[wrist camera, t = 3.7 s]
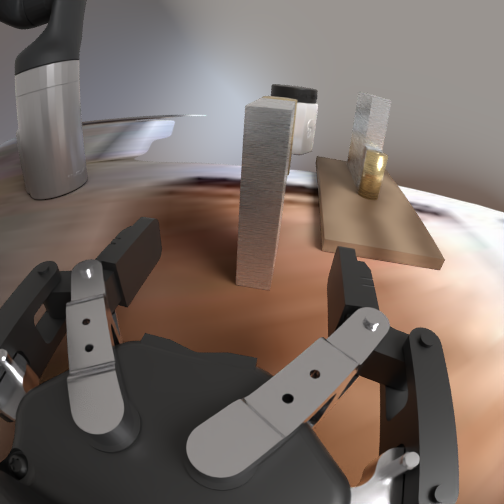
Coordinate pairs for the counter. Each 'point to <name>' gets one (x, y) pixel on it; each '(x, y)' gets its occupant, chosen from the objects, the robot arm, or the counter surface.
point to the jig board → (371, 220)
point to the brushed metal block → (263, 187)
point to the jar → (301, 115)
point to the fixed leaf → (368, 144)
